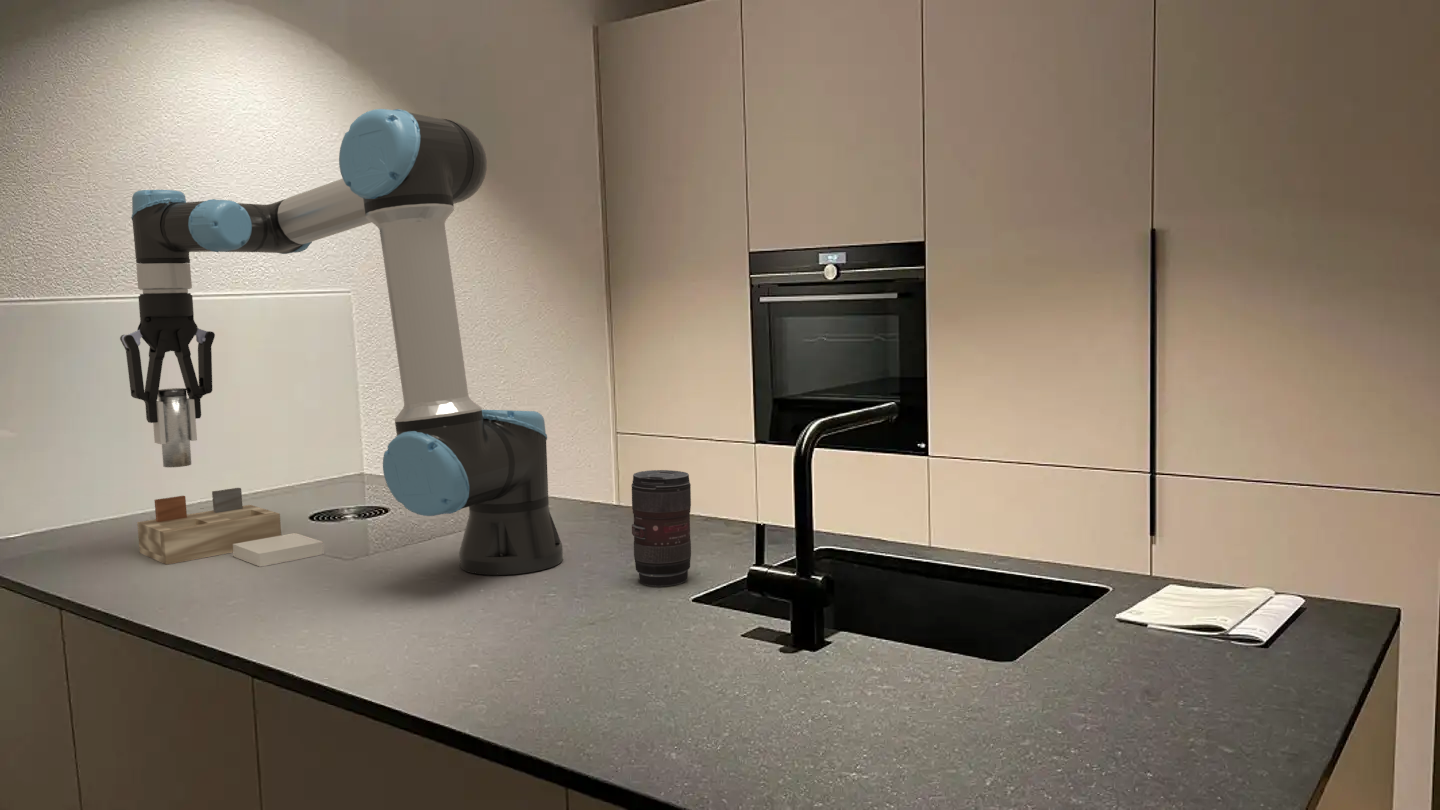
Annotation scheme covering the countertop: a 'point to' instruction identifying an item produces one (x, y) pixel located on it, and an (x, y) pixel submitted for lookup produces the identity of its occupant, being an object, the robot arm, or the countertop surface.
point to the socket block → (204, 528)
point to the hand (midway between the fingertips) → (175, 441)
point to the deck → (277, 549)
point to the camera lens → (661, 526)
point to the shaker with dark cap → (175, 427)
